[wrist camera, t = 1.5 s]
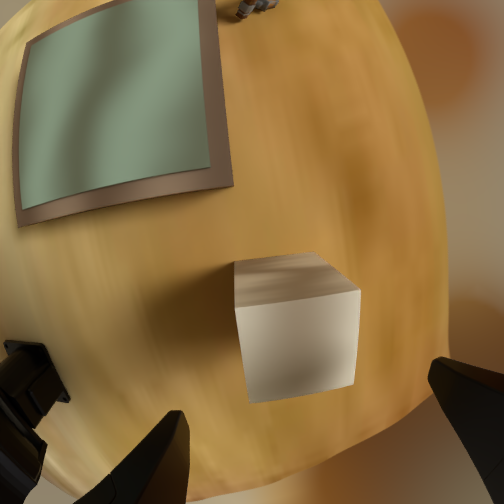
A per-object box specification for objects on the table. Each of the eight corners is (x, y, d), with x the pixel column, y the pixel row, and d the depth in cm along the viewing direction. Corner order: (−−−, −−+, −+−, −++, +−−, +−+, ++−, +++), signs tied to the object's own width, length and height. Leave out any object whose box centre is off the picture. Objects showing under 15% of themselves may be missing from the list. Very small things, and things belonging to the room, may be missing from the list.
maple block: (243, 332, 18) (249, 403, 11) (234, 261, 17) (234, 308, 10) (316, 322, 18) (353, 384, 11) (313, 251, 17) (360, 289, 10)
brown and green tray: (43, 221, 15) (15, 228, 12) (46, 54, 12) (24, 41, 9) (233, 186, 16) (233, 185, 13) (215, 2, 13) (213, -25, 10)
